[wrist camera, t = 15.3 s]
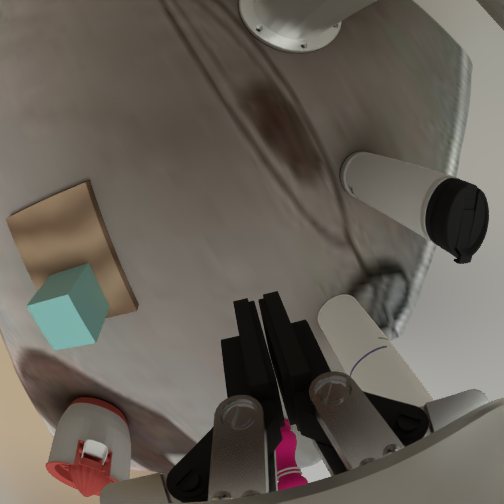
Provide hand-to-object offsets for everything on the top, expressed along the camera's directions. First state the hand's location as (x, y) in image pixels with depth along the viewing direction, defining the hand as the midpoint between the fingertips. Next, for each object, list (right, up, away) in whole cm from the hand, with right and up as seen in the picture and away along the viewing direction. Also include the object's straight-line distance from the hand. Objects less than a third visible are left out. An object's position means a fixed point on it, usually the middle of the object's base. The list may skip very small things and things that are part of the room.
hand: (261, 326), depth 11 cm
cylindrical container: (+13, -7, +34) cm, 37 cm away
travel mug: (+14, +13, +25) cm, 32 cm away
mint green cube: (-23, -2, +23) cm, 33 cm away
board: (-25, +2, +23) cm, 34 cm away
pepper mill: (+5, -35, +45) cm, 57 cm away
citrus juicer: (-31, -29, +36) cm, 55 cm away
